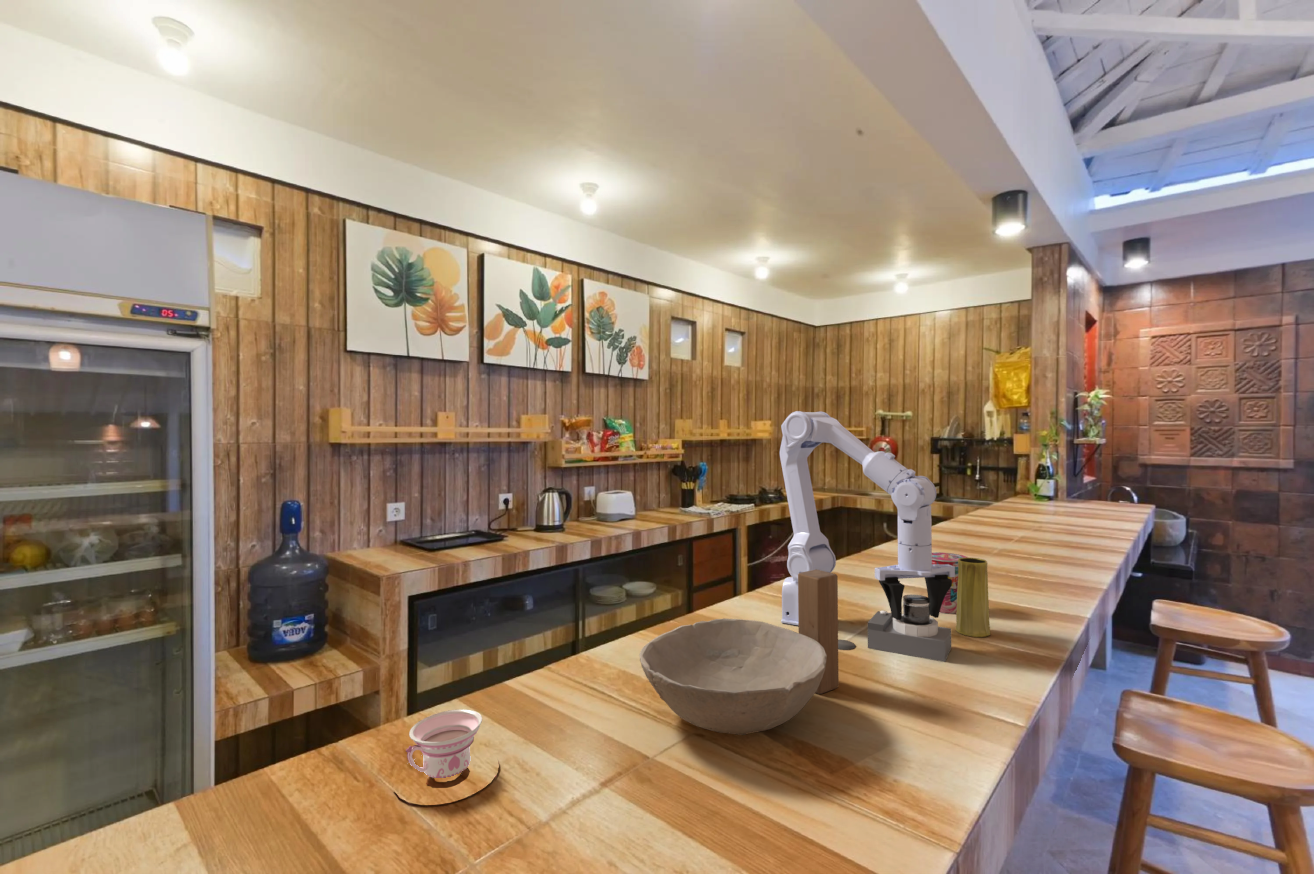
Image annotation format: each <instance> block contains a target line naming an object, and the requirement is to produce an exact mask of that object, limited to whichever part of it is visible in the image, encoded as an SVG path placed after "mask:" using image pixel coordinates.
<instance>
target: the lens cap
mask: <svg viewBox="0 0 1314 874" xmlns="http://www.w3.org/2000/svg"><path fill="white" fill-rule="evenodd" d="M855 648H856V644H855V643H854V642H853V641H850V640H846V639H838V651H839V650H840V651H850V650H854V649H855Z"/></svg>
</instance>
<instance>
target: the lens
mask: <svg viewBox="0 0 1314 874" xmlns="http://www.w3.org/2000/svg"><path fill="white" fill-rule="evenodd" d="M902 605H903V607H902V609H903V610H902V612H903V613H902V614H903V620H904V623H907V624H913V625H928V624H930V617H931V615H930V599H929V598H928V596H926V595H922V594H921V595H920V594H905V595H903V596H902Z"/></svg>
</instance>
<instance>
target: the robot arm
mask: <svg viewBox="0 0 1314 874" xmlns="http://www.w3.org/2000/svg"><path fill="white" fill-rule="evenodd" d="M780 426H781V428H780V429H781V433H782V437H781V443H780V448H779V459H780V463H781V468H782V469H781V470H782V475H783V481H784V488H785V494H786V498H787V503H788V510H789V515H790V520H791V521H790V522H791V526H792V531H793V536H792V538H791V540H790V542H789V543H788V545H787V550H788V558H787V561H786V567H787V571H788V573H789V574H790V576H788V577H786V578H785V579H784V580H783V582H782V589H781V619H780V623H783V624H789V625H794V626H798V574H799V573H801V572H806V571H811V570H816V569H817V570H821V571H825V572H829V573H833V571H834V570H835V568H836V565H837V559H836V555H835V553H834V552H833V550H832V548H831V546H830V542H829V538H827V536H825V534H824V533H822V532H821V529H820V524H819V518H818V513H817V507H816V501H815V495H814V489H813V485H812V479H811V473H810V469H809V468H810V467H809V463H808V457H809V456H810V455H811V453H812V452H813V451H814V450H815V448H817V447H818V446H819V445H821V444H822V443H828V444H831V445H833V446H834V447H835V448H837V449H838V450H840V451H841V452H843V453H844V454H845V455H847V456H848V457H850V458H852V459H853V460H855V462H857V463H858V464H860V465H862V472H863V475H864V476H865V477H867V478H868V479H870V481H871V482H873V483H874V484H876V485H877V486H878V487H879V488H881V489H882V491H883V490H884V491H885V492H886V493H887V494H888V495H890V496H891V497H890V498H891V500H892V502H893V505H895V507H896V509H897V564H893V565H887V566H879V567H874V579H876V580H878V583H879V584H880V586H881V588H882V590H883V592H884V595H885V596H886V599H887V602H888V605H889V609H890V613H891V614H892V617H893V618H895V619H897V620H901V617H902V614H903V613H902V612H903V610H902V609H903V607H902V605H903V596H904V590H905V584H903V583H901V581H900V580H902V579H918V578H919V579H920V578H922V579H923V578H924V581H925V586H926V591H927V597H928V598H929V599H930V617H932V618H934V619H938V618H940V617H939V616H940V613H941V612H940V609H941V606H942V603H943V600H944V598H945V596H946V594H947V592H948V590H949V589H950V587H951V586H952V580H951V579H948V577H955V567H954V566H951V565H949V564H945V565H940V564H932V553H933V552H932V550H933V549H932V544H933V542H932V541H933V539H932V535H933V534H932V530H933V529H932V521H933V520H932V504H933V503H935V500H936V498H937V489H936V486H935V484H934V483H933V482H932V481H931V480H930V479H929V478H928V477H927V476H924V475H916V471H915V470H913V469H912V468H909V469H908V468H907V467H906V466H904V465H903V464H901V463H900V462H898V461H897V460H896V459H895V458H896V455H895V454H893V453H892V452H886V451H876V452H875V451H873V449H871V448H870V447H868V446H867V445H866V444H865V443H864V442H862V441H861V440H860V439H859V438H858V437H857V436H855V434H853V433H852V432H850V430H848V429H847V428H846V427H845V426H843V425H842V424H841V423H840V422H839V420H838V419H836V418H834V417H831V415H829V414H828V413H827V412H824V411H815V412H813V411H812V412H811V411H807V412H806V411H800V410H796V411H793V412H791V413H790V414H788V416H787V417H786V418H785V420H784V421H783V422H782V424H781V425H780ZM899 579H900V580H899Z"/></svg>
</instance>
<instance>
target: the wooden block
mask: <svg viewBox="0 0 1314 874" xmlns="http://www.w3.org/2000/svg"><path fill="white" fill-rule="evenodd" d="M838 584H839V583H838V575H837V574H836V573H834V572H831V573H829V572H825V571H821V570H817V569H816V570H811V571H806V572H801V573H799V574H798V625H797V626H798V633H800V634H802V635H805V636H807V637H809V638H812V639H814V640H816V641H817V642H818V643H820V645H821V646H822V647H823V648H824V650H825V653H826V655H827V660H826V667H825V671H824V674H823V677H822V679H821V682H820V684H819V687H818V689H817V691H816V692H815V693H816V694H818V695H823V694H825V693H828V692H831V691H833V690H836V689H838V688H839V685H840V684H839V683H840V682H839V678H840V677H839V649H838V640H839V603H838V602H839V598H838V597H839V595H838V594H839V593H838V592H839V590H838V587H839V586H838Z"/></svg>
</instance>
